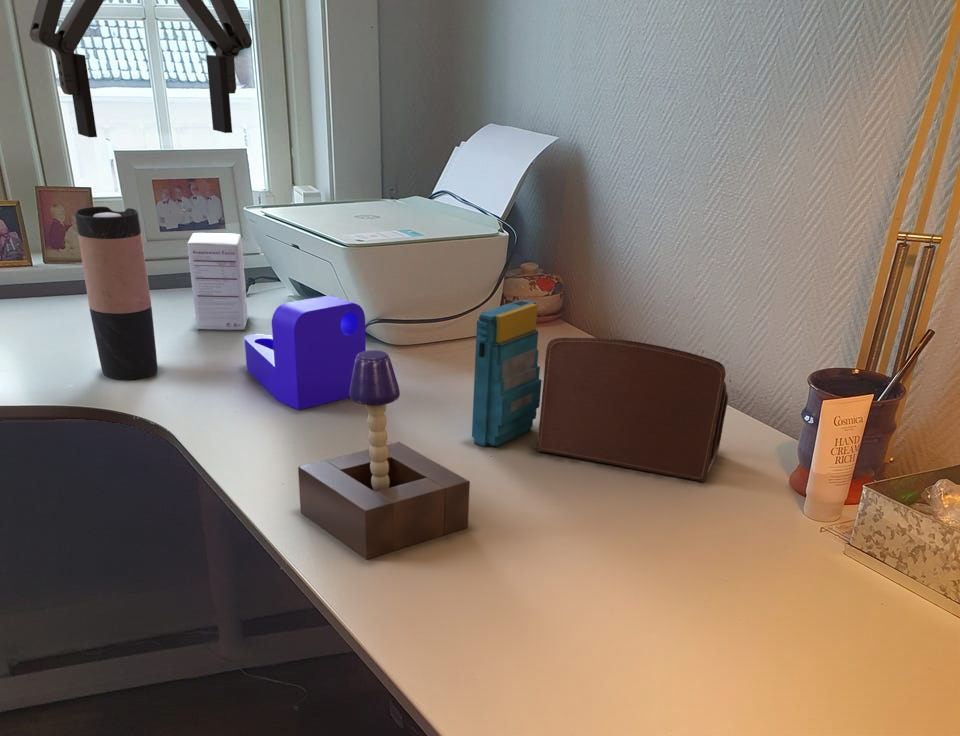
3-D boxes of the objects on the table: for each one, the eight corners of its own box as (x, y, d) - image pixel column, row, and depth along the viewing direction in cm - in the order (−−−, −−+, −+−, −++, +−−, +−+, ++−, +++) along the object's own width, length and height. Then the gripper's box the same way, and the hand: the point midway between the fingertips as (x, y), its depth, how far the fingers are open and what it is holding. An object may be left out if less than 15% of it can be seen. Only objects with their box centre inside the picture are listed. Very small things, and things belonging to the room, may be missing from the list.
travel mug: (115, 384, 128) (89, 219, 117) (90, 368, 133) (63, 209, 122) (170, 374, 132) (149, 214, 122) (144, 359, 137) (122, 204, 126)
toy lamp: (390, 535, 95) (385, 363, 87) (347, 526, 97) (338, 356, 88) (410, 515, 99) (408, 349, 90) (369, 507, 101) (362, 343, 92)
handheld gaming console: (512, 421, 123) (521, 297, 115) (540, 429, 122) (551, 304, 113) (467, 442, 117) (472, 313, 108) (495, 451, 115) (503, 321, 107)
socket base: (366, 559, 91) (365, 510, 89) (300, 512, 99) (297, 466, 96) (468, 527, 98) (470, 481, 95) (398, 485, 106) (398, 441, 103)
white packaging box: (201, 316, 156) (192, 231, 149) (249, 317, 157) (242, 233, 150) (195, 329, 150) (185, 242, 143) (245, 330, 151) (237, 243, 144)
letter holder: (705, 483, 110) (728, 357, 102) (535, 453, 115) (545, 331, 107) (719, 452, 118) (741, 333, 110) (559, 425, 123) (570, 309, 115)
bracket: (366, 392, 130) (364, 300, 123) (298, 410, 123) (292, 314, 117) (285, 358, 140) (280, 272, 134) (219, 373, 134) (210, 283, 127)
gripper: (-17, -170, 75) (38, 142, 86) (277, -132, 88) (291, 134, 100) (-45, -163, 79) (11, 132, 91) (238, -128, 93) (255, 125, 104)
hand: (157, 133), depth 95 cm, fingers open, 13 cm apart
